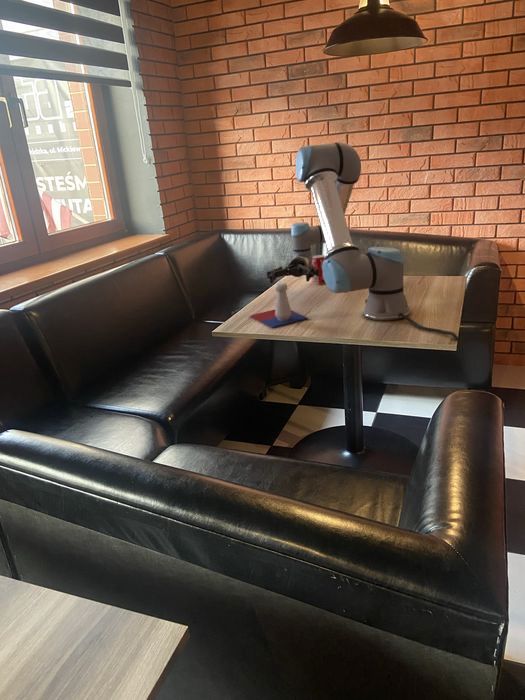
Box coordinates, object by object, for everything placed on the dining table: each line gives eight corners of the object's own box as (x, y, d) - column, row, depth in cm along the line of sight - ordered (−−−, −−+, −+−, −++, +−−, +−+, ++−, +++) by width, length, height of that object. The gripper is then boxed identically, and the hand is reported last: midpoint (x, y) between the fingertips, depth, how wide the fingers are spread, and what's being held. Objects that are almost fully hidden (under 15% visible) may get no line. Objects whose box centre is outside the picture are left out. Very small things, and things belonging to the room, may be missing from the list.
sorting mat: (307, 319, 190) (307, 317, 190) (272, 328, 185) (272, 326, 184) (283, 308, 205) (283, 307, 205) (250, 316, 200) (250, 315, 200)
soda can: (328, 280, 240) (326, 254, 235) (327, 284, 233) (325, 257, 229) (312, 281, 241) (310, 255, 237) (311, 285, 234) (309, 258, 230)
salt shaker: (282, 322, 187) (279, 286, 183) (272, 319, 192) (268, 284, 187) (295, 318, 190) (292, 282, 186) (284, 315, 195) (281, 280, 190)
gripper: (330, 273, 214) (323, 287, 195) (269, 276, 220) (257, 290, 201) (328, 255, 211) (322, 266, 192) (267, 258, 218) (255, 270, 198)
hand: (288, 278), depth 197 cm, fingers open, 13 cm apart
